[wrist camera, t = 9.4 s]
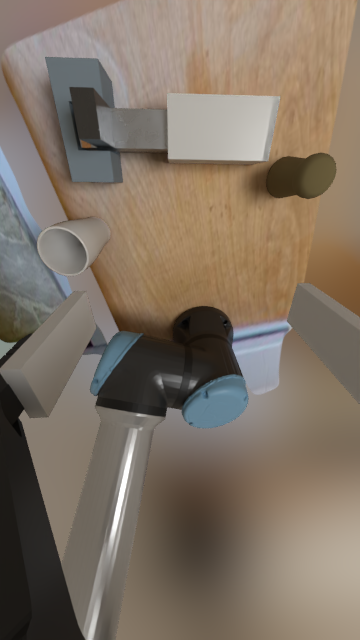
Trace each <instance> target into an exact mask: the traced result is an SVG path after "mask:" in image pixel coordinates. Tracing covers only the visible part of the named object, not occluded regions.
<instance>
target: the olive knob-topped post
mask: <svg viewBox="0 0 360 640" xmlns="http://www.w3.org/2000/svg"><path fill="white" fill-rule="evenodd" d="M335 174H336V163H335V161H334V159H333V158H332V157H331V156H330V155H329V154H325V153H317V154H313V155H311V156H309V157H307V158H306V159H305V158H297V157H290V156H288V157H283V158H281V159H279V160H278V161H276V163H275V164H274V165H273V166H272V167H271V169H270V171H269V173H268V176H267V184H266V185H267V189H268V191H269V193H270V194H271V195H272V196H274V197H276V198H283V197H288V196H293V195H298V196H299V197H301V198H306V199H310V198H315V197H317V196H319V195H321V194H323V193H324V192H325V191H326V190H327V189H328V188H329V187H330V185H331V183H332V182H333V180H334V178H335Z"/></svg>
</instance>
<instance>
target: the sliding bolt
mask: <svg viewBox="0 0 360 640" xmlns="http://www.w3.org/2000/svg"><path fill="white" fill-rule="evenodd" d="M69 89H70V94H71V100H72V105H73V110H74V115H75V121H76V126H77V131H78V137H79V139H80V144H81V147H82V148H84V149H87V150H89V151H115V152H165V153H168V117H167V110H161V109H122V108H110V107H109V106H108V105H107V103H106V102H105V101H104V100H103V99H102V97H101V96H100V95H99V94H98V93H97V91H96V90H95V89H94V88H90V87H69Z"/></svg>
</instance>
